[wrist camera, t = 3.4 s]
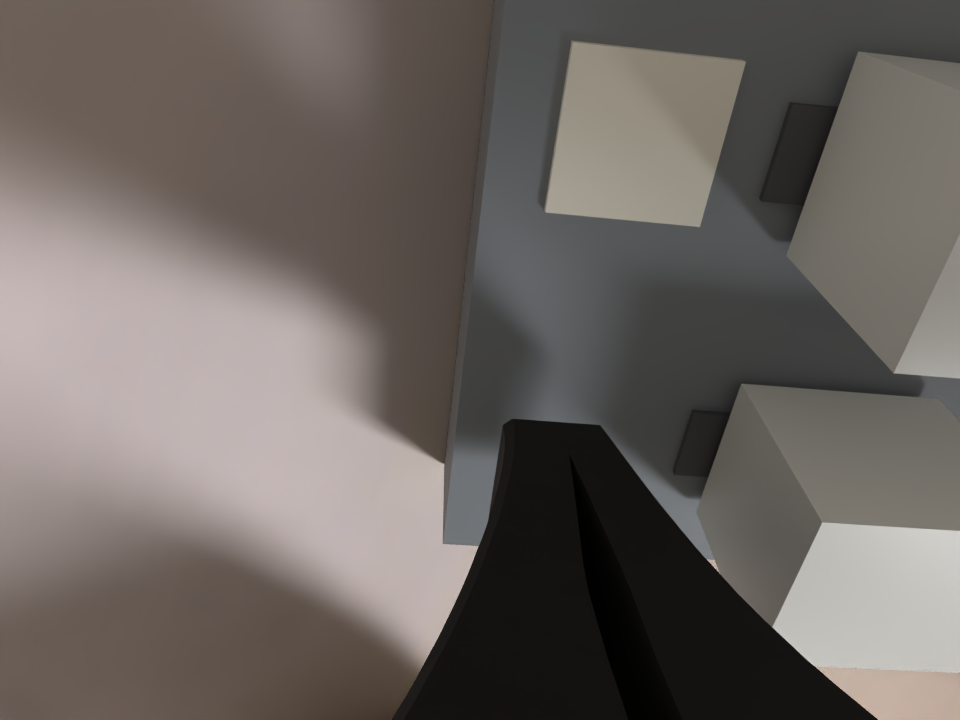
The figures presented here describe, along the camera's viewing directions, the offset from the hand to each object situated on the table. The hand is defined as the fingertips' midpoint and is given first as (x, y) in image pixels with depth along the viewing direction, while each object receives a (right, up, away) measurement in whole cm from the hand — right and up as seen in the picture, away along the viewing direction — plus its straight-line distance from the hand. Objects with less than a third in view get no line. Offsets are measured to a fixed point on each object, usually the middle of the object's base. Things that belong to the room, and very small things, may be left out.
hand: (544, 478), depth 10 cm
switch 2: (+4, 0, +1) cm, 4 cm away
